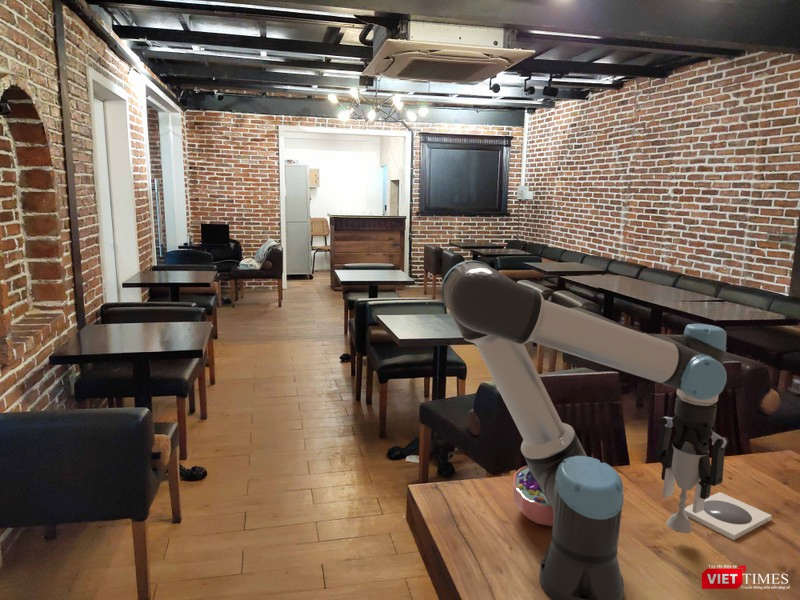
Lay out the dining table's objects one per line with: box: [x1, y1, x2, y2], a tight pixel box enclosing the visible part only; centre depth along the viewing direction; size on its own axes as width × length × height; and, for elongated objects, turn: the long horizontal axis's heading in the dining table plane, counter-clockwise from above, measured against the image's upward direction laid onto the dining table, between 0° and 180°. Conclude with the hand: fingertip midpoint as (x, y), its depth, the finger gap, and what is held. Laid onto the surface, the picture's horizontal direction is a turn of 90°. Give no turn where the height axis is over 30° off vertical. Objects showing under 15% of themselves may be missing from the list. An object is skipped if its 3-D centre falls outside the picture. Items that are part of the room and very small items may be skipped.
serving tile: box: [684, 491, 773, 541], centre depth 129 cm, size 16×12×1 cm
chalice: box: [665, 441, 710, 534], centre depth 117 cm, size 7×7×18 cm
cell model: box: [512, 465, 553, 528], centre depth 126 cm, size 17×20×11 cm
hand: (682, 502), depth 117 cm, fingers closed on chalice, 6 cm apart
